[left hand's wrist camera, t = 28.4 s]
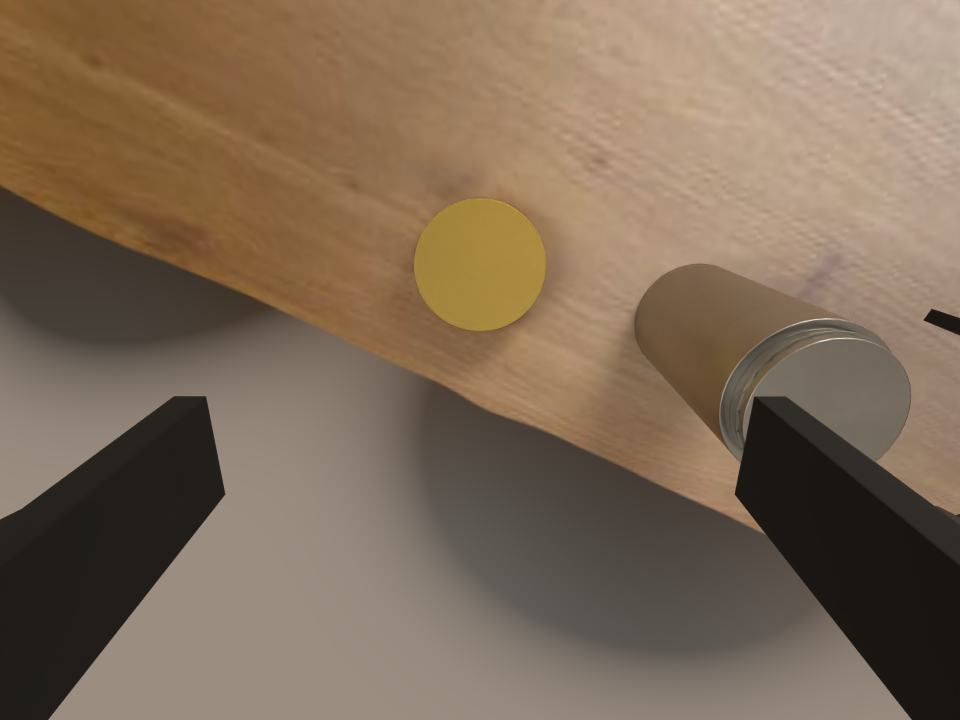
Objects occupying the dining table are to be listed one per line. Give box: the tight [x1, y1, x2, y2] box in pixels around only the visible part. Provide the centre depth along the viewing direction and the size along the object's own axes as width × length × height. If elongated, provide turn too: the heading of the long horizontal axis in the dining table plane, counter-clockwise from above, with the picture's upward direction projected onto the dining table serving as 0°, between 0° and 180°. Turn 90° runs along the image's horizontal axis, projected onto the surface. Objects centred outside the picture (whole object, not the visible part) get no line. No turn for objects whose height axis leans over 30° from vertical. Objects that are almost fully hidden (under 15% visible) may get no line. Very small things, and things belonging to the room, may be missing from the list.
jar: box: [635, 264, 911, 462], centre depth 33 cm, size 9×9×17 cm
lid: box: [414, 198, 546, 331], centre depth 38 cm, size 10×10×2 cm
